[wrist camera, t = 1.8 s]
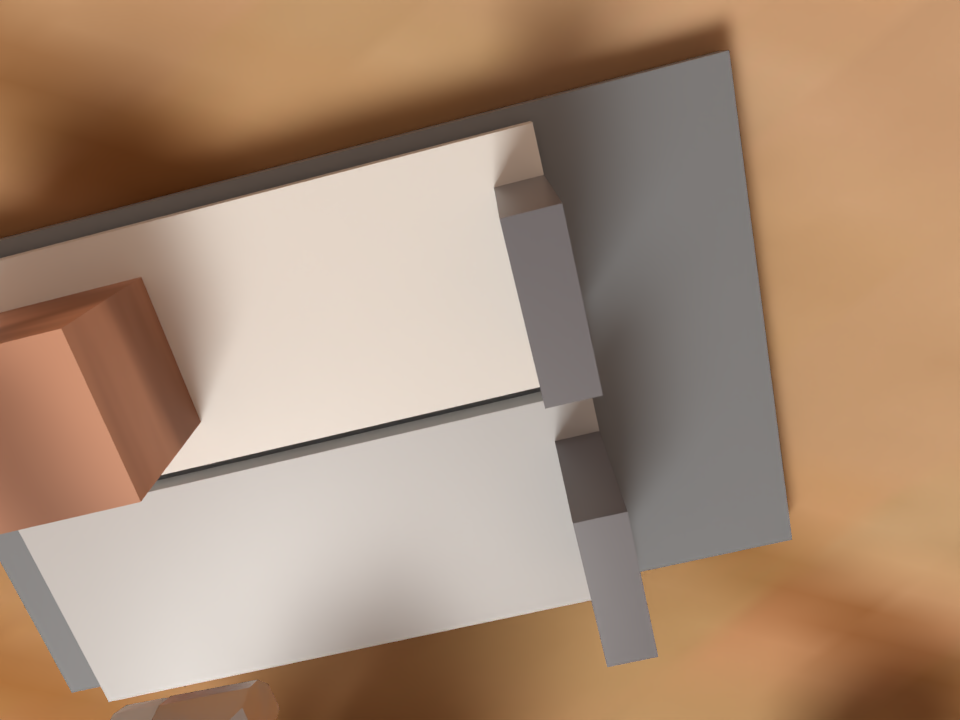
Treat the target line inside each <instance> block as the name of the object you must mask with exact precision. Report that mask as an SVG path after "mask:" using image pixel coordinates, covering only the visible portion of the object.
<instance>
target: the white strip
mask: <svg viewBox="0 0 960 720" xmlns="http://www.w3.org/2000/svg"><path fill="white" fill-rule="evenodd" d="M139 277H142V280H143V282H144V285H145V287H146V289H147V292H148V294H149V297H150V299H151V302H152V304H153V307H154V309H155V311H156V314H157V316H158V319H159V321H160V324H161V326H162V328H163V331H164V333H165V336H166V338H167V341H168V343H169V345H170V348H171V350H172V353H173V355H174V358H175V360H176V362H177V365H178V367H179V370H180V372H181V375H182V377H183V380H184V382H185V384H186V387H187V389H188V392H189V394H190V397H191V399H192V401H193V404H194V406H195V409H196V411H197V414H198V416H199V418H200V421H201V423H200V424H199V426H198V427H197V428H196V429H195V431H194V432H193V433H192V435H191V436H190V437H189V439H188V440H187V441H186V443H185V444H184V445H183V447H182V448H181V449H180V451H179V452H178V453H177V455H176V456H175V457H174V459H173V460H172V461H171V463H170V464H169V465H168V467H167V468H166V469H165V471H164V472H163V473H162V475H164V474H168V473H173V472H177V471H181V470H186V469H190V468H194V467H198V466H203V465H207V464H211V463H216V462H220V461H224V460H228V459H233V458H237V457H241V456H246V455H250V454H254V453H259V452H263V451H267V450H271V449H276V448H280V447H284V446H289V445H293V444H297V443H302V442H306V441H310V440H314V439H319V438H323V437H327V436H332V435H336V434H340V433H345V432H349V431H353V430H357V429H362V428H366V427H370V426H375V425H379V424H383V423H388V422H392V421H396V420H400V419H405V418H409V417H413V416H418V415H422V414H426V413H430V412H435V411H439V410H443V409H448V408H452V407H456V406H461V405H465V404H469V403H473V402H478V401H482V400H486V399H491V398H495V397H499V396H504V395H508V394H512V393H516V392H521V391H525V390H529V389H534V388H538V387H540V389H541V394H542V398H543V402H544V406H545V409H546V408H551V407H555V406H559V405H564V404H568V403H572V402H577V401H581V400H585V399H590V398H594V397H598V396H603V394H602V389H601V384H600V379H599V375H598V370H597V365H596V360H595V356H594V351H593V346H592V341H591V337H590V332H589V327H588V323H587V318H586V313H585V308H584V304H583V299H582V294H581V289H580V285H579V280H578V275H577V270H576V266H575V261H574V256H573V252H572V247H571V242H570V237H569V233H568V228H567V223H566V218H565V214H564V209H563V204H562V202H561V200H560V199H559V197H558V196H557V194H556V193H555V191H554V190H553V188H552V187H551V185H550V183H549V182H548V180H547V179H546V177H545V176H544V173H543V168H542V164H541V159H540V154H539V150H538V145H537V141H536V136H535V131H534V127H533V123H532V122H531V121H528V122H524V123H520V124H517V125H513V126H509V127H505V128H501V129H497V130H493V131H490V132H486V133H482V134H478V135H474V136H470V137H466V138H463V139H459V140H455V141H451V142H447V143H443V144H439V145H436V146H432V147H428V148H424V149H420V150H416V151H412V152H409V153H405V154H401V155H397V156H393V157H389V158H385V159H381V160H378V161H374V162H370V163H366V164H362V165H358V166H354V167H351V168H347V169H343V170H339V171H335V172H331V173H327V174H324V175H320V176H316V177H312V178H308V179H304V180H300V181H297V182H293V183H289V184H285V185H281V186H277V187H273V188H270V189H266V190H262V191H258V192H254V193H250V194H246V195H243V196H239V197H235V198H231V199H227V200H223V201H219V202H215V203H212V204H208V205H204V206H200V207H196V208H192V209H188V210H185V211H181V212H177V213H173V214H169V215H165V216H161V217H158V218H154V219H150V220H146V221H142V222H138V223H134V224H131V225H127V226H123V227H119V228H115V229H111V230H107V231H104V232H100V233H96V234H92V235H88V236H84V237H80V238H77V239H73V240H69V241H65V242H61V243H57V244H53V245H49V246H46V247H42V248H38V249H34V250H30V251H26V252H22V253H19V254H15V255H11V256H7V257H3V258H0V313H1V312H4V311H8V310H12V309H16V308H20V307H24V306H28V305H32V304H36V303H40V302H44V301H48V300H52V299H56V298H60V297H64V296H68V295H72V294H76V293H79V292H83V291H87V290H91V289H95V288H99V287H103V286H107V285H111V284H115V283H119V282H123V281H127V280H131V279H135V278H139Z"/></svg>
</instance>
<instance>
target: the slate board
mask: <svg viewBox="0 0 960 720" xmlns="http://www.w3.org/2000/svg"><path fill="white" fill-rule="evenodd" d="M528 121H531V122H532V123H533V127H534V131H535V136H536V141H537V145H538V150H539V154H540V159H541V164H542V168H543V173H544V176H545V177H546V179H547V180H548V182H549V183H550V185H551V187H552V188H553V190H554V191H555V193H556V194H557V196H558V197H559V199H560V200H561V202H562V204H563V209H564V214H565V218H566V223H567V228H568V233H569V237H570V242H571V247H572V252H573V256H574V261H575V266H576V270H577V275H578V280H579V285H580V289H581V294H582V299H583V304H584V308H585V313H586V318H587V323H588V327H589V332H590V337H591V341H592V346H593V351H594V356H595V360H596V365H597V370H598V375H599V379H600V384H601V389H602V394H603V396H598V397H594V398H592V399H593V404H594V408H595V413H596V418H597V422H598V427H599V431H600V434H601V437H602V440H603V443H604V446H605V448H606V451H607V454H608V457H609V460H610V463H611V466H612V469H613V471H614V474H615V477H616V480H617V483H618V486H619V489H620V492H621V495H622V497H623V500H624V503H625V506H626V509H627V512H628V517H629V521H630V526H631V531H632V536H633V540H634V545H635V550H636V554H637V559H638V564H639V569H640V572H642V571H646V570H651V569H656V568H660V567H665V566H670V565H675V564H679V563H684V562H689V561H693V560H698V559H703V558H707V557H712V556H717V555H722V554H726V553H731V552H736V551H740V550H745V549H750V548H755V547H759V546H764V545H769V544H773V543H778V542H783V541H787V540H792V535H791V527H790V520H789V512H788V504H787V496H786V488H785V481H784V473H783V465H782V457H781V450H780V442H779V434H778V426H777V419H776V411H775V403H774V395H773V388H772V380H771V372H770V364H769V356H768V349H767V341H766V333H765V325H764V318H763V310H762V302H761V294H760V287H759V279H758V271H757V263H756V255H755V248H754V240H753V232H752V224H751V217H750V209H749V201H748V193H747V186H746V178H745V170H744V162H743V154H742V147H741V139H740V131H739V123H738V116H737V108H736V100H735V92H734V85H733V77H732V69H731V61H730V54H729V50H726V51H717V52H713V53H709V54H705V55H701V56H697V57H694V58H690V59H686V60H682V61H678V62H674V63H671V64H667V65H663V66H659V67H655V68H652V69H648V70H644V71H640V72H636V73H632V74H629V75H625V76H621V77H617V78H613V79H609V80H606V81H602V82H598V83H594V84H590V85H586V86H583V87H579V88H575V89H571V90H567V91H563V92H560V93H556V94H552V95H548V96H544V97H540V98H537V99H533V100H529V101H525V102H521V103H517V104H514V105H510V106H506V107H502V108H498V109H494V110H491V111H487V112H483V113H479V114H475V115H471V116H468V117H464V118H460V119H456V120H452V121H448V122H445V123H441V124H437V125H433V126H429V127H426V128H422V129H418V130H414V131H410V132H406V133H403V134H399V135H395V136H391V137H387V138H383V139H380V140H376V141H372V142H368V143H364V144H360V145H357V146H353V147H349V148H345V149H341V150H337V151H334V152H330V153H326V154H322V155H318V156H314V157H311V158H307V159H303V160H299V161H295V162H291V163H288V164H284V165H280V166H276V167H272V168H268V169H265V170H261V171H257V172H253V173H249V174H245V175H242V176H238V177H234V178H230V179H226V180H223V181H219V182H215V183H211V184H207V185H203V186H200V187H196V188H192V189H188V190H184V191H180V192H177V193H173V194H169V195H165V196H161V197H157V198H154V199H150V200H146V201H142V202H138V203H134V204H131V205H127V206H123V207H119V208H115V209H111V210H108V211H104V212H100V213H96V214H92V215H88V216H85V217H81V218H77V219H73V220H69V221H65V222H62V223H58V224H54V225H50V226H46V227H42V228H39V229H35V230H31V231H27V232H23V233H19V234H16V235H12V236H8V237H4V238H0V258H3V257H7V256H11V255H15V254H19V253H22V252H26V251H30V250H34V249H38V248H42V247H46V246H49V245H53V244H57V243H61V242H65V241H69V240H73V239H77V238H80V237H84V236H88V235H92V234H96V233H100V232H104V231H107V230H111V229H115V228H119V227H123V226H127V225H131V224H134V223H138V222H142V221H146V220H150V219H154V218H158V217H161V216H165V215H169V214H173V213H177V212H181V211H185V210H188V209H192V208H196V207H200V206H204V205H208V204H212V203H215V202H219V201H223V200H227V199H231V198H235V197H239V196H243V195H246V194H250V193H254V192H258V191H262V190H266V189H270V188H273V187H277V186H281V185H285V184H289V183H293V182H297V181H300V180H304V179H308V178H312V177H316V176H320V175H324V174H327V173H331V172H335V171H339V170H343V169H347V168H351V167H354V166H358V165H362V164H366V163H370V162H374V161H378V160H381V159H385V158H389V157H393V156H397V155H401V154H405V153H409V152H412V151H416V150H420V149H424V148H428V147H432V146H436V145H439V144H443V143H447V142H451V141H455V140H459V139H463V138H466V137H470V136H474V135H478V134H482V133H486V132H490V131H493V130H497V129H501V128H505V127H509V126H513V125H517V124H520V123H524V122H528ZM540 391H541V389H540V387H538V388H534V389H529V390H525V391H521V392H516V393H512V394H508V395H504V396H499V397H495V398H491V399H486V400H482V401H478V402H473V403H469V404H465V405H461V406H456V407H452V408H448V409H443V410H439V411H435V412H430V413H426V414H422V415H418V416H413V417H409V418H405V419H400V420H396V421H392V422H388V423H383V424H379V425H375V426H370V427H366V428H362V429H357V430H353V431H349V432H345V433H340V434H336V435H332V436H327V437H323V438H319V439H314V440H310V441H306V442H302V443H297V444H293V445H289V446H284V447H280V448H276V449H271V450H267V451H263V452H259V453H254V454H250V455H246V456H241V457H237V458H233V459H228V460H224V461H220V462H216V463H211V464H207V465H203V466H198V467H194V468H190V469H186V470H181V471H177V472H173V473H168V474H164V475H161V476H160V477H159V478H158V480H162V479H166V478H170V477H174V476H179V475H183V474H187V473H192V472H196V471H200V470H205V469H209V468H213V467H217V466H222V465H226V464H230V463H235V462H239V461H243V460H248V459H252V458H256V457H261V456H265V455H269V454H273V453H278V452H282V451H286V450H291V449H295V448H299V447H304V446H308V445H312V444H317V443H321V442H325V441H329V440H334V439H338V438H342V437H347V436H351V435H355V434H360V433H364V432H368V431H373V430H377V429H381V428H385V427H390V426H394V425H398V424H403V423H407V422H411V421H416V420H420V419H424V418H428V417H433V416H437V415H441V414H446V413H450V412H454V411H459V410H463V409H467V408H472V407H476V406H480V405H484V404H489V403H493V402H497V401H502V400H506V399H510V398H515V397H519V396H523V395H528V394H532V393H536V392H540ZM0 562H1V564H2V566H3V567H4V569H5V571H6V573H7V575H8V577H9V578H10V580H11V582H12V584H13V586H14V588H15V589H16V591H17V593H18V595H19V597H20V599H21V600H22V602H23V604H24V606H25V608H26V610H27V611H28V613H29V615H30V617H31V619H32V621H33V622H34V624H35V626H36V628H37V630H38V631H39V633H40V635H41V637H42V639H43V641H44V642H45V644H46V646H47V648H48V650H49V652H50V653H51V655H52V657H53V659H54V661H55V663H56V664H57V666H58V668H59V670H60V672H61V674H62V675H63V677H64V679H65V681H66V683H67V685H68V686H69V688H70V690H71V692H77V691H81V690H86V689H91V688H96V687H100V684H99V682H98V680H97V678H96V676H95V675H94V673H93V671H92V669H91V667H90V665H89V663H88V661H87V659H86V657H85V656H84V654H83V652H82V650H81V648H80V646H79V644H78V642H77V640H76V639H75V637H74V635H73V633H72V631H71V629H70V627H69V625H68V623H67V622H66V620H65V618H64V616H63V614H62V612H61V610H60V608H59V606H58V605H57V603H56V601H55V599H54V597H53V595H52V593H51V591H50V589H49V587H48V586H47V584H46V582H45V580H44V578H43V576H42V574H41V572H40V570H39V569H38V567H37V565H36V563H35V561H34V559H33V557H32V555H31V553H30V552H29V550H28V548H27V546H26V544H25V542H24V540H23V538H22V536H21V535H20V533H19V531H18V530H17V531H12V532H8V533H4V534H0Z"/></svg>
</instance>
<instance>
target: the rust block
mask: <svg viewBox="0 0 960 720" xmlns="http://www.w3.org/2000/svg"><path fill="white" fill-rule="evenodd" d="M200 423H201V421H200V418H199V416H198V414H197V411H196V409H195V406H194V404H193V401H192V399H191V397H190V394H189V392H188V389H187V387H186V384H185V382H184V380H183V377H182V375H181V372H180V370H179V367H178V365H177V362H176V360H175V358H174V355H173V353H172V350H171V348H170V345H169V343H168V341H167V338H166V336H165V333H164V331H163V328H162V326H161V324H160V321H159V319H158V316H157V314H156V311H155V309H154V307H153V304H152V302H151V299H150V297H149V294H148V292H147V289H146V287H145V285H144V282H143V280H142V277H139V278H135V279H131V280H127V281H123V282H119V283H115V284H111V285H107V286H103V287H99V288H95V289H91V290H87V291H83V292H79V293H76V294H72V295H68V296H64V297H60V298H56V299H52V300H48V301H44V302H40V303H36V304H32V305H28V306H24V307H20V308H16V309H12V310H8V311H4V312H1V313H0V534H4V533H8V532H12V531H17V530H21V529H25V528H30V527H34V526H39V525H43V524H47V523H52V522H56V521H60V520H65V519H69V518H73V517H78V516H82V515H86V514H91V513H95V512H99V511H104V510H108V509H112V508H117V507H121V506H125V505H130V504H134V503H138V502H141V501H142V500H143V498H144V497H145V496H146V494H147V493H148V492H149V490H150V489H151V488H152V486H153V485H154V484H155V482H156V481H157V480H158V478H159V477H160V476H161V475H162V473H163V472H164V471H165V469H166V468H167V467H168V465H169V464H170V463H171V461H172V460H173V459H174V457H175V456H176V455H177V453H178V452H179V451H180V449H181V448H182V447H183V445H184V444H185V443H186V441H187V440H188V439H189V437H190V436H191V435H192V433H193V432H194V431H195V429H196V428H197V427H198V426H199V424H200Z"/></svg>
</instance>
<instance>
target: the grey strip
mask: <svg viewBox="0 0 960 720" xmlns="http://www.w3.org/2000/svg"><path fill="white" fill-rule="evenodd" d="M18 531H19V533H20V535H21V536H22V538H23V540H24V542H25V544H26V546H27V548H28V550H29V552H30V553H31V555H32V557H33V559H34V561H35V563H36V565H37V567H38V569H39V570H40V572H41V574H42V576H43V578H44V580H45V582H46V584H47V586H48V587H49V589H50V591H51V593H52V595H53V597H54V599H55V601H56V603H57V605H58V606H59V608H60V610H61V612H62V614H63V616H64V618H65V620H66V622H67V623H68V625H69V627H70V629H71V631H72V633H73V635H74V637H75V639H76V640H77V642H78V644H79V646H80V648H81V650H82V652H83V654H84V656H85V657H86V659H87V661H88V663H89V665H90V667H91V669H92V671H93V673H94V675H95V676H96V678H97V680H98V682H99V684H100V686H101V688H102V690H103V692H104V693H105V695H106V697H107V699H108V701H109V702H110V701H115V700H120V699H125V698H129V697H134V696H139V695H144V694H148V693H153V692H158V691H163V690H167V689H172V688H177V687H182V686H186V685H191V684H196V683H201V682H205V681H210V680H215V679H220V678H224V677H229V676H234V675H239V674H243V673H248V672H253V671H257V670H262V669H267V668H272V667H276V666H281V665H286V664H291V663H295V662H300V661H305V660H310V659H314V658H319V657H324V656H329V655H333V654H338V653H343V652H348V651H352V650H357V649H362V648H367V647H371V646H376V645H381V644H386V643H390V642H395V641H400V640H405V639H409V638H414V637H419V636H424V635H428V634H433V633H438V632H443V631H447V630H452V629H457V628H462V627H466V626H471V625H476V624H481V623H485V622H490V621H495V620H500V619H504V618H509V617H514V616H519V615H523V614H528V613H533V612H538V611H542V610H547V609H552V608H556V607H561V606H566V605H571V604H575V603H580V602H585V601H590V600H591V601H592V605H593V610H594V614H595V618H596V622H597V626H598V630H599V634H600V639H601V643H602V647H603V651H604V655H605V659H606V664H607V667H610V666H615V665H620V664H625V663H630V662H635V661H640V660H645V659H650V658H655V657H658V654H657V649H656V644H655V640H654V635H653V630H652V625H651V621H650V616H649V611H648V607H647V602H646V597H645V592H644V588H643V583H642V578H641V573H640V569H639V564H638V559H637V554H636V550H635V545H634V540H633V536H632V531H631V526H630V521H629V517H628V512H627V509H626V506H625V503H624V500H623V497H622V495H621V492H620V489H619V486H618V483H617V480H616V477H615V474H614V471H613V469H612V466H611V463H610V460H609V457H608V454H607V451H606V448H605V446H604V443H603V440H602V437H601V434H600V431H599V427H598V422H597V418H596V413H595V408H594V404H593V399H592V398H590V399H585V400H581V401H577V402H572V403H568V404H564V405H559V406H555V407H551V408H546V409H545V406H544V402H543V398H542V394H541V391H540V392H536V393H532V394H528V395H523V396H519V397H515V398H510V399H506V400H502V401H497V402H493V403H489V404H484V405H480V406H476V407H472V408H467V409H463V410H459V411H454V412H450V413H446V414H441V415H437V416H433V417H428V418H424V419H420V420H416V421H411V422H407V423H403V424H398V425H394V426H390V427H385V428H381V429H377V430H373V431H368V432H364V433H360V434H355V435H351V436H347V437H342V438H338V439H334V440H329V441H325V442H321V443H317V444H312V445H308V446H304V447H299V448H295V449H291V450H286V451H282V452H278V453H273V454H269V455H265V456H261V457H256V458H252V459H248V460H243V461H239V462H235V463H230V464H226V465H222V466H217V467H213V468H209V469H205V470H200V471H196V472H192V473H187V474H183V475H179V476H174V477H170V478H166V479H162V480H157V481H156V482H155V484H154V485H153V486H152V488H151V489H150V490H149V492H148V493H147V494H146V496H145V497H144V498H143V500H142V501H141V502H138V503H134V504H130V505H125V506H121V507H117V508H112V509H108V510H104V511H99V512H95V513H91V514H86V515H82V516H78V517H73V518H69V519H65V520H60V521H56V522H52V523H47V524H43V525H39V526H34V527H30V528H25V529H21V530H18Z"/></svg>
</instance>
